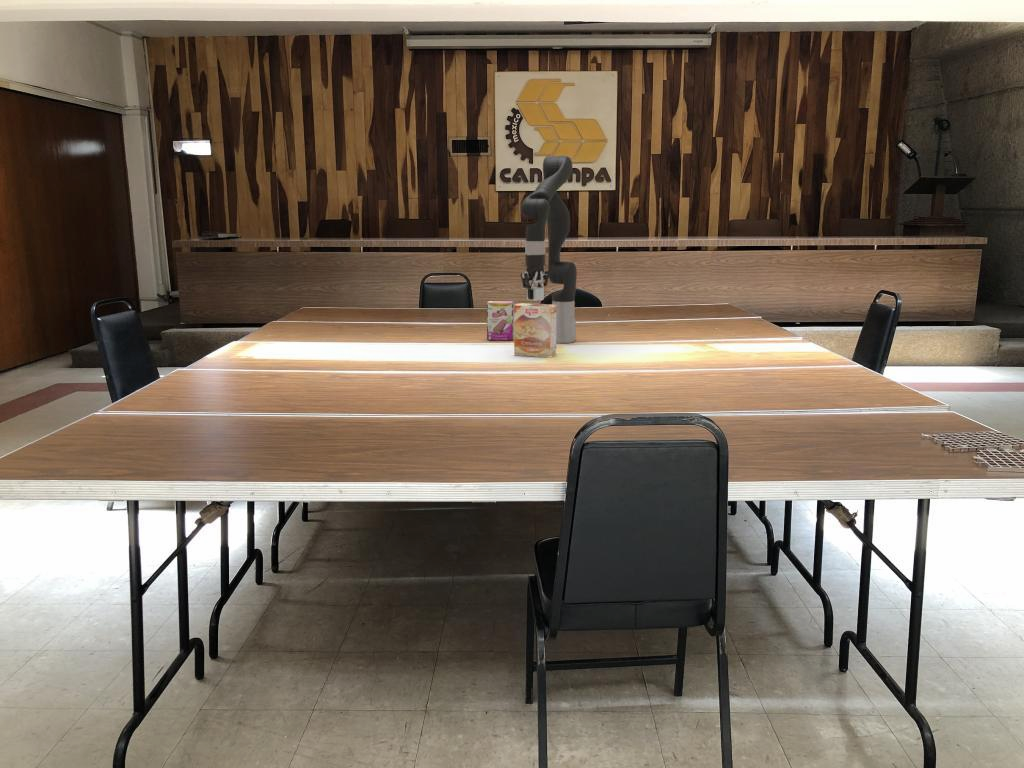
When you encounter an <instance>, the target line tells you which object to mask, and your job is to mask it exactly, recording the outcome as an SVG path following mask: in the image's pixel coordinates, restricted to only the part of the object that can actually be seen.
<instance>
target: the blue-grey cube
mask: <svg viewBox="0 0 1024 768" xmlns="http://www.w3.org/2000/svg"><path fill="white" fill-rule="evenodd" d="M544 290H545V287H544V288H541V287H537V286H534V287H533V299H532V300H530V299H528V290H527V289H526V300H527V301H543V300H544V299H545V296H544V295H545V294H544V293H545V291H544Z"/></svg>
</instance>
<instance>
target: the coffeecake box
mask: <svg viewBox="0 0 1024 768" xmlns="http://www.w3.org/2000/svg"><path fill="white" fill-rule="evenodd" d="M513 344H514V345H513V350H514V352H513V353H514V354H515V355H514V354H513V355H514V356H520V355H527V356H526V357H534V356H541V357H540V358H547V357H551V356H552V357H554V356H556V355H557V343H556V305H552V304H545V303H524V302H522V303H516V304H515V303H514V340H513ZM552 357H551V358H552Z"/></svg>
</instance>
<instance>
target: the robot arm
mask: <svg viewBox="0 0 1024 768" xmlns="http://www.w3.org/2000/svg"><path fill="white" fill-rule="evenodd" d="M542 173H543V180H542V181H541V182H540V183H539V184H538V185H537V187H535V190H534V191H533V192H532V193H531V194H529V195H528V196H526V197H525V198H524V200H523V201H522V202H521V205H520V213H521V215H522V217H524V218H527V219H537V222H535V223H534V224H528V225H527V226H526V227H525V245H524V246H525V248H524V250H525V251H524V253H525V255H524V259H525V260H524V262H525V263H524V265H525V266H526V270H525V272H521V273H520V278H521V283H522V287H523V288H524V289H526V291H527V290H528V299H530V300H529V301H533V300H532V299H533V287H535V284H536V287H541V288H544V289H545V287H547V286H548V282H549V281H550V283H551V284H552V285H553V284H555V285H563V288H562V289H561V290H560V291H557V292H555V293H552V297H551V299H552V302H551V305H556V344H571V343H574V342H576V340H577V339H576V337H577V336H576V333H577V331H576V330H577V328H576V327H577V324H576V323H577V322H576V321H577V320H576V318H575V301H576V300H575V299H576V298H575V296H576V292H577V278H578V277H577V275H578V274H577V273H578V272H577V271H578V270H577V266H576V264H575V262H572V261H561V260H560V256H561V251H562V250H561V249H562V247H563V245H564V242H565V241H566V239H567V237H569V236H568V235H569V233H570V231H571V220H570V219H571V217H570V216H571V215H570V210H569V209H568V207H567V205H566V204H565V203H564V201H563V200H562V198H561V196H560V194H559V192H558V190H559V189H561V187H562V186H563V185H564V184H565V183H566V182H567V181H568V180H569V179H570V178H571V176H572V173H573V162H572V159H571V157H569V156H567V155H553V156H546V157H545V158H543V162H542ZM546 226H547V240H548V242H547V243H548V264H547V270H545V268H544V267H545V266H546V241H545V238H546V237H545V236H546V235H545V233H546V232H545V231H546Z"/></svg>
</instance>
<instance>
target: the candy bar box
mask: <svg viewBox="0 0 1024 768" xmlns="http://www.w3.org/2000/svg"><path fill="white" fill-rule="evenodd" d="M514 305H515V301H506V300H505V301H504V300H503V301H500V300H499V301H498V300H497V301H496V300H494V301H493V300H490V301H489V300H488V301H487V302H486V334H487V335H486V340H513V339H514ZM513 341H514V340H513Z"/></svg>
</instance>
